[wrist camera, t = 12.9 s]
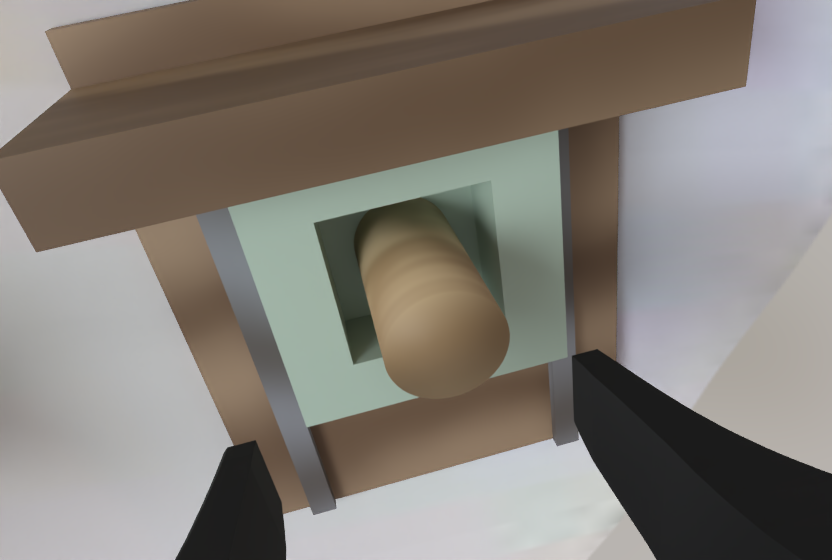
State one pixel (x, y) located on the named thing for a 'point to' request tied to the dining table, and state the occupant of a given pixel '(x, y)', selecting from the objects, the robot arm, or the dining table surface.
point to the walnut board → (349, 158)
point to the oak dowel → (428, 302)
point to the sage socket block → (342, 283)
